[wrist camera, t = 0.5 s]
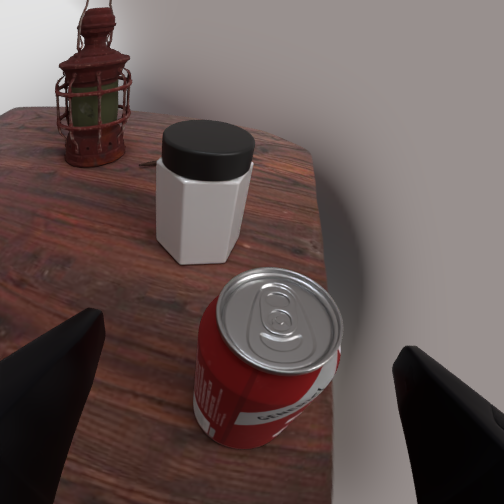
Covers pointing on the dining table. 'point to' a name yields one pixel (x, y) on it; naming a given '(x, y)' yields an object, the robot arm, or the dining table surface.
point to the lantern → (94, 93)
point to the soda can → (263, 355)
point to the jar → (202, 189)
